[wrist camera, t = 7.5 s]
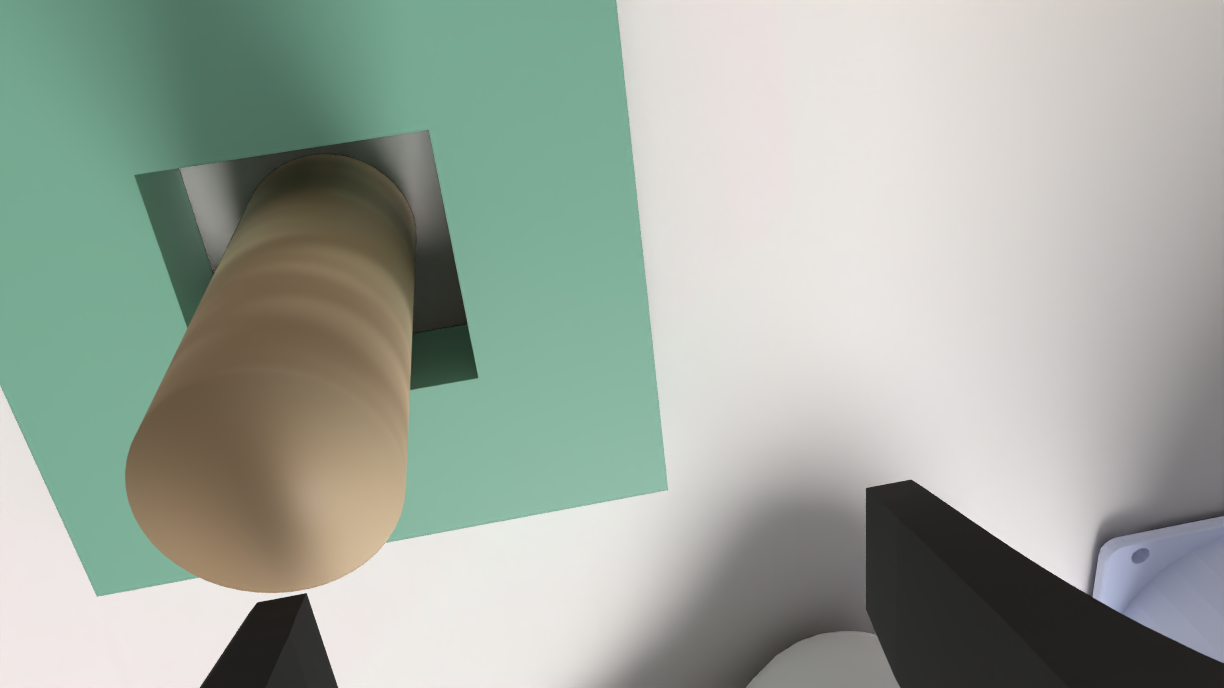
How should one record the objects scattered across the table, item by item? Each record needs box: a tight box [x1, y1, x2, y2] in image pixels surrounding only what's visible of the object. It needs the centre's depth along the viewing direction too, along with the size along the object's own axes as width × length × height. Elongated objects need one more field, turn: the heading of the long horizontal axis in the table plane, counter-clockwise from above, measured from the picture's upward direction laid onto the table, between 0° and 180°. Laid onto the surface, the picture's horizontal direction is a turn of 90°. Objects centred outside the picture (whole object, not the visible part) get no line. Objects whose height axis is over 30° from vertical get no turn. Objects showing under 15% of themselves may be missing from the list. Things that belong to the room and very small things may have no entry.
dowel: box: [125, 154, 416, 593], centre depth 17 cm, size 3×3×9 cm
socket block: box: [0, 0, 668, 597], centre depth 20 cm, size 12×12×2 cm
